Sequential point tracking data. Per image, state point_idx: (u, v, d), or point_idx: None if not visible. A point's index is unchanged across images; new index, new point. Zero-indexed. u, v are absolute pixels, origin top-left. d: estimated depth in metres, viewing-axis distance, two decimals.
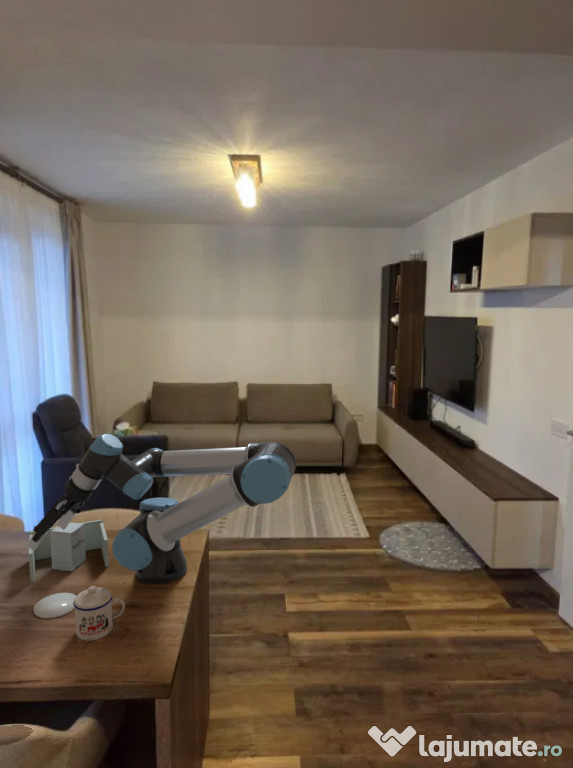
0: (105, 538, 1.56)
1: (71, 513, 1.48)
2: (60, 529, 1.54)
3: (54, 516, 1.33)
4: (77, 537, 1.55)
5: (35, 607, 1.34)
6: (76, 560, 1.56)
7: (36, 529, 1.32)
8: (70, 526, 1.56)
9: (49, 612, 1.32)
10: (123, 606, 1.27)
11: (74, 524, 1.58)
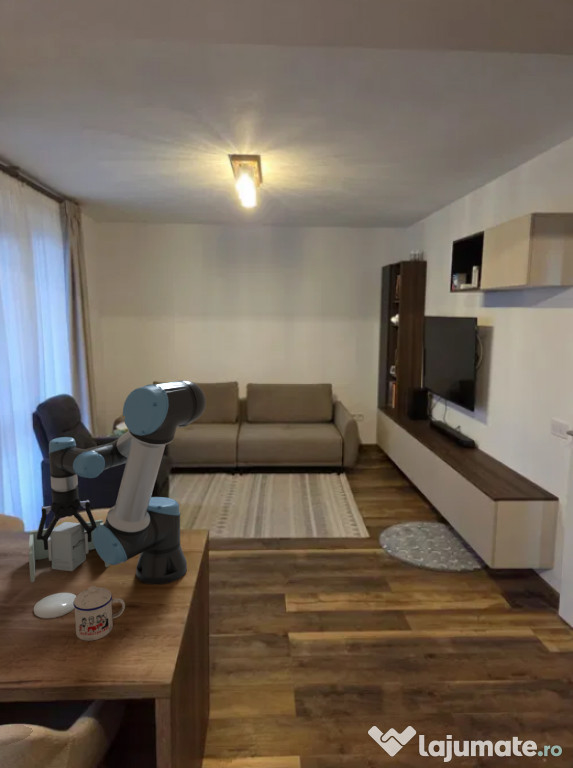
0: None
1: None
2: (60, 529, 1.54)
3: (41, 520, 1.52)
4: (77, 537, 1.55)
5: (35, 607, 1.34)
6: (76, 560, 1.56)
7: (37, 534, 1.53)
8: (70, 526, 1.56)
9: (49, 612, 1.32)
10: (123, 606, 1.27)
11: (74, 523, 1.58)
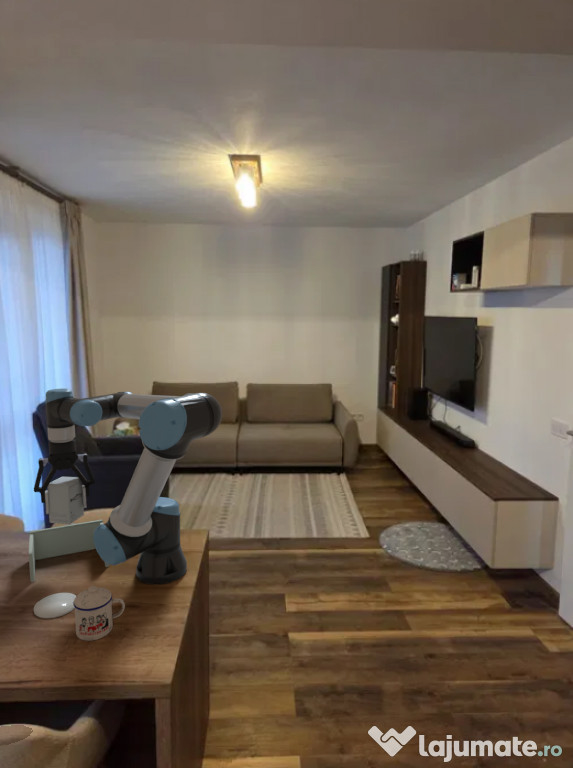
0: None
1: (82, 488, 1.56)
2: (57, 482, 1.52)
3: (38, 472, 1.49)
4: (75, 490, 1.53)
5: (35, 607, 1.34)
6: (74, 513, 1.53)
7: (34, 487, 1.51)
8: (67, 479, 1.54)
9: (49, 612, 1.32)
10: (123, 606, 1.27)
11: (72, 477, 1.56)
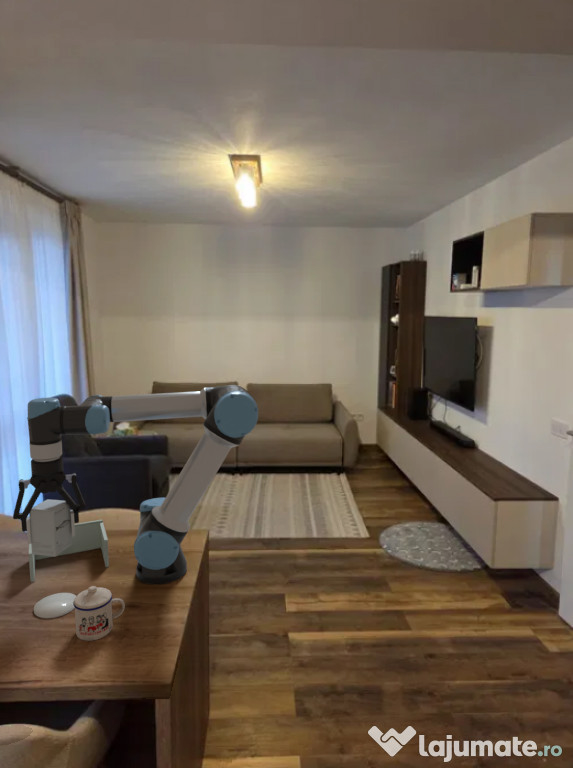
0: (105, 538, 1.56)
1: None
2: (41, 507, 1.30)
3: (18, 495, 1.27)
4: (62, 517, 1.31)
5: (35, 607, 1.34)
6: (61, 543, 1.31)
7: None
8: (53, 504, 1.32)
9: (49, 612, 1.32)
10: (123, 606, 1.27)
11: (59, 501, 1.34)
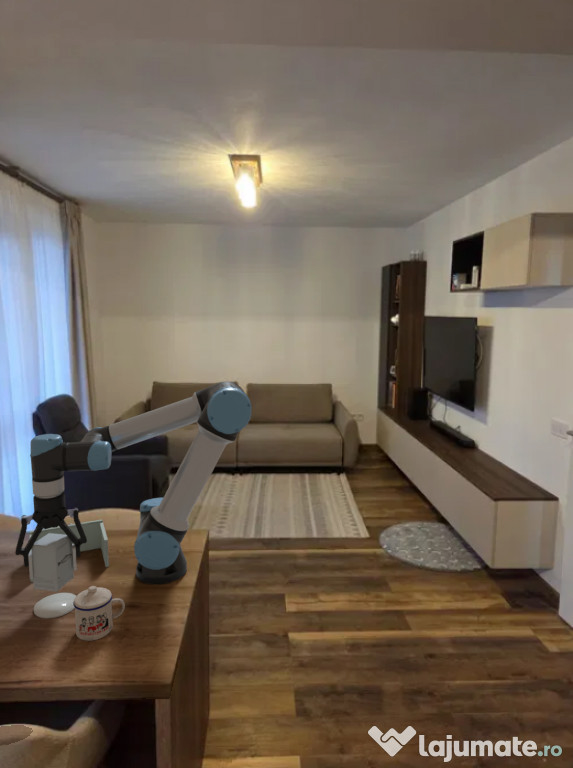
0: (105, 538, 1.56)
1: (72, 548, 1.35)
2: (43, 542, 1.31)
3: (20, 532, 1.29)
4: (63, 552, 1.33)
5: (35, 607, 1.34)
6: (62, 578, 1.33)
7: (16, 548, 1.30)
8: (55, 538, 1.33)
9: (49, 612, 1.32)
10: (123, 606, 1.27)
11: (60, 535, 1.35)
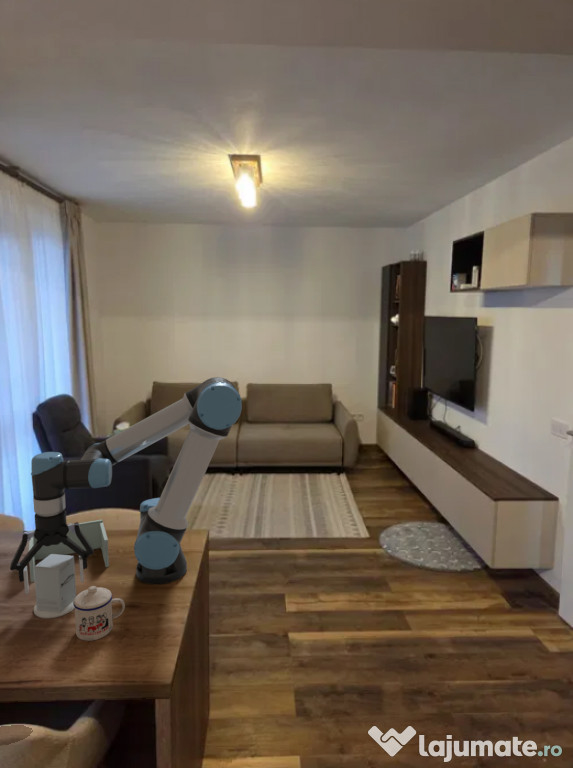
0: (105, 538, 1.56)
1: (79, 560, 1.36)
2: (46, 564, 1.32)
3: (19, 547, 1.29)
4: (66, 573, 1.34)
5: (35, 607, 1.34)
6: (65, 599, 1.34)
7: (11, 563, 1.30)
8: (57, 560, 1.34)
9: (49, 612, 1.32)
10: (123, 606, 1.27)
11: (63, 556, 1.36)
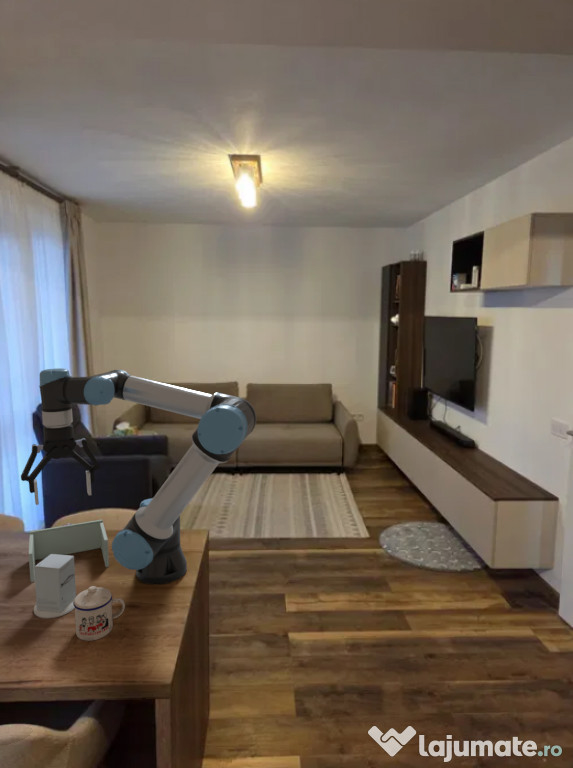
0: (105, 538, 1.56)
1: (86, 474, 1.42)
2: (46, 564, 1.32)
3: (29, 458, 1.34)
4: (66, 573, 1.34)
5: (35, 607, 1.34)
6: (65, 599, 1.34)
7: (21, 475, 1.35)
8: (57, 559, 1.34)
9: (49, 612, 1.32)
10: (123, 606, 1.27)
11: (63, 556, 1.36)
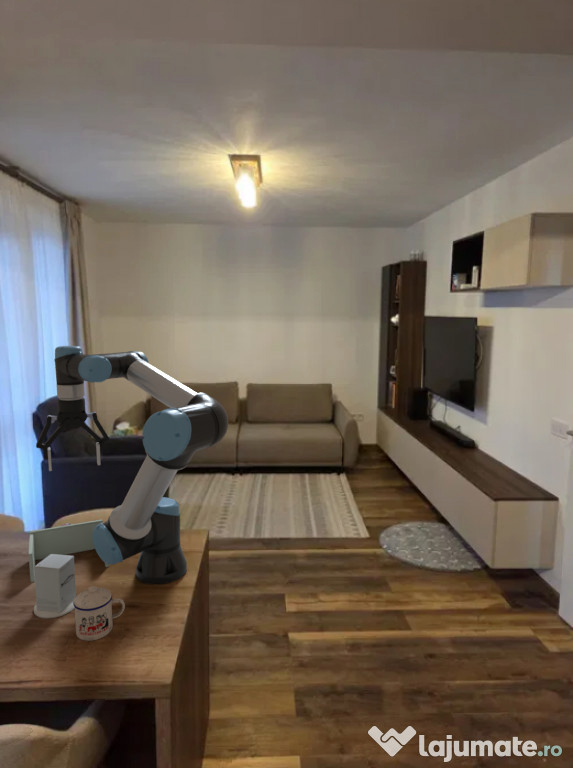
0: None
1: (96, 445, 1.53)
2: (46, 564, 1.32)
3: (44, 428, 1.45)
4: (66, 573, 1.34)
5: (35, 607, 1.34)
6: (65, 599, 1.34)
7: (36, 443, 1.46)
8: (57, 559, 1.34)
9: (49, 612, 1.32)
10: (123, 606, 1.27)
11: (63, 556, 1.36)
